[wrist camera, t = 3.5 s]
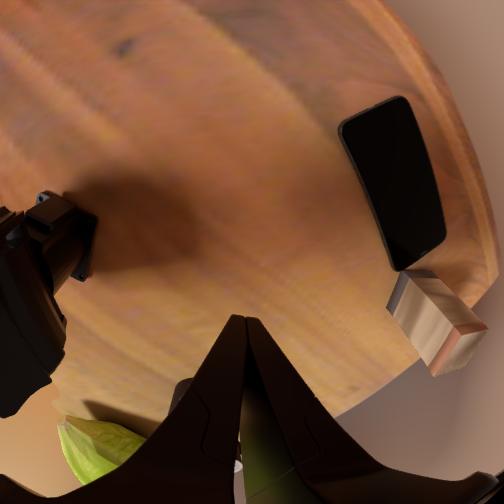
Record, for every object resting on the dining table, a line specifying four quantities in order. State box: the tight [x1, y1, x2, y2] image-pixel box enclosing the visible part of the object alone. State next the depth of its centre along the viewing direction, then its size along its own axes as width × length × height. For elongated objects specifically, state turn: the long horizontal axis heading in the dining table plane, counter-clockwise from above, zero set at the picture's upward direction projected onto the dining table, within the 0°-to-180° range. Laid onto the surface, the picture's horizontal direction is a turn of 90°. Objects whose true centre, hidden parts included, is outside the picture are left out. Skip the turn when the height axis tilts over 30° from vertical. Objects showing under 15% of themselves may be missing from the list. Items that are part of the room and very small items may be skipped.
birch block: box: [386, 270, 489, 377], centre depth 20 cm, size 4×4×10 cm
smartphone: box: [338, 96, 447, 272], centre depth 20 cm, size 7×1×15 cm
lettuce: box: [57, 415, 147, 485], centre depth 28 cm, size 15×20×14 cm
